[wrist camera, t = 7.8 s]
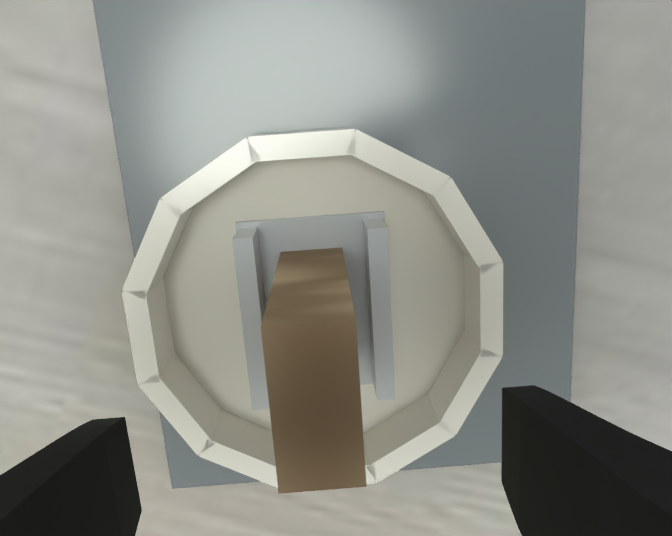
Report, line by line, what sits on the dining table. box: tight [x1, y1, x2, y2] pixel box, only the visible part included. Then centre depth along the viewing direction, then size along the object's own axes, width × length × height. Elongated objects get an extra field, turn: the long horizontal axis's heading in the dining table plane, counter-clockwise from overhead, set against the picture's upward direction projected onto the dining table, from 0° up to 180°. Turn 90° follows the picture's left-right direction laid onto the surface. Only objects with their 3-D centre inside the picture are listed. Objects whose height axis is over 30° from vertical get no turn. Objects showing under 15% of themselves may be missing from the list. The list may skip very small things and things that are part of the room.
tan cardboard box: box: [261, 247, 366, 493], centre depth 16 cm, size 2×4×7 cm, turn 4°
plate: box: [122, 128, 503, 488], centre depth 19 cm, size 11×11×2 cm
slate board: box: [93, 0, 585, 489], centre depth 19 cm, size 15×26×1 cm, turn 4°
